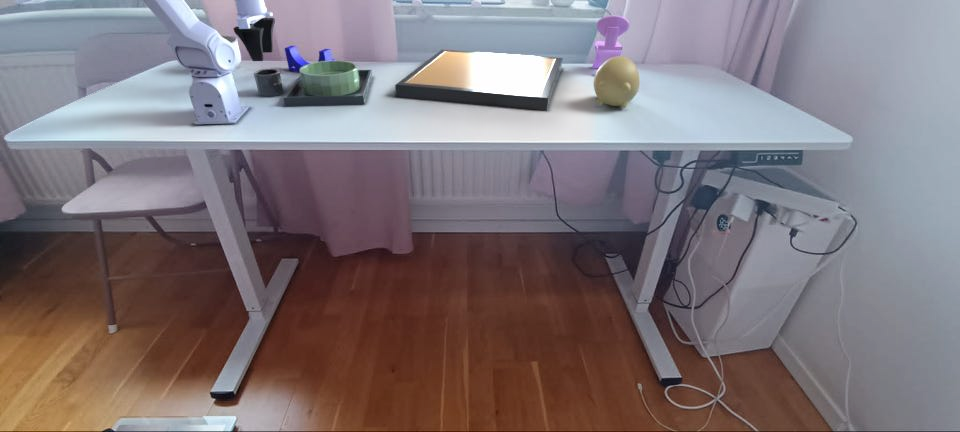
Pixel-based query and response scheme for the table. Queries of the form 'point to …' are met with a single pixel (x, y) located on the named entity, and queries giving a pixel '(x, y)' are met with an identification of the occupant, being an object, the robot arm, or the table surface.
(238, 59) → the teacup
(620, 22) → the purple tall piece
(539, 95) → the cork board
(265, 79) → the black cup
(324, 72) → the sage bowl
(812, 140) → the table surface
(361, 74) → the tray
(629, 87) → the toy pig
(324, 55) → the blue curved stand
